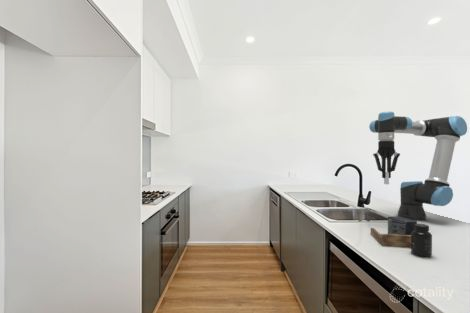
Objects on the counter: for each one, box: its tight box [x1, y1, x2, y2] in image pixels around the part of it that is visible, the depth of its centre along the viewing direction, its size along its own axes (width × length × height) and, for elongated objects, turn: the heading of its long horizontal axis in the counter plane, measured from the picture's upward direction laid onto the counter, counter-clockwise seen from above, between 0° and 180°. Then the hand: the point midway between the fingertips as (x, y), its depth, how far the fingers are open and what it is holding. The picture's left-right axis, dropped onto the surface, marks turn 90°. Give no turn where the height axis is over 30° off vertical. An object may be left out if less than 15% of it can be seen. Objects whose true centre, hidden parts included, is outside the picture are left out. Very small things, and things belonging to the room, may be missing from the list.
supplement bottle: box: [410, 222, 433, 258], centre depth 103 cm, size 7×7×12 cm
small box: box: [387, 215, 418, 235], centre depth 119 cm, size 11×6×10 cm, turn 13°
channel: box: [370, 227, 411, 249], centre depth 119 cm, size 18×18×5 cm
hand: (386, 184), depth 139 cm, fingers closed
